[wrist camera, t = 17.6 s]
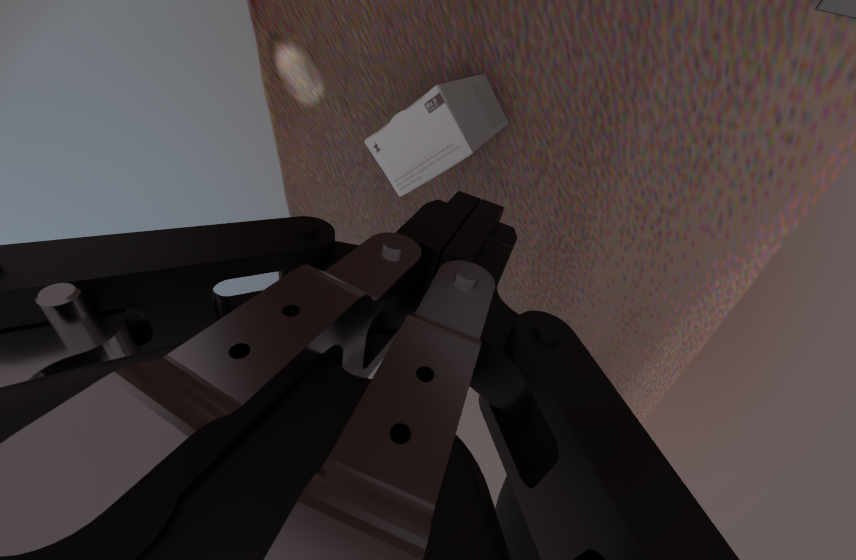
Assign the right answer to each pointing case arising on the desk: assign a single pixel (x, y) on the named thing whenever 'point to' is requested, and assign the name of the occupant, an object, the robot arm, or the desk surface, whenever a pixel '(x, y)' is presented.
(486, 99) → the skincare box
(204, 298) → the robot arm
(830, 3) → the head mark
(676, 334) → the desk surface
